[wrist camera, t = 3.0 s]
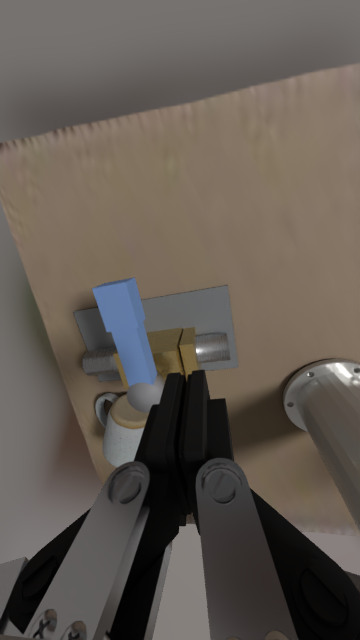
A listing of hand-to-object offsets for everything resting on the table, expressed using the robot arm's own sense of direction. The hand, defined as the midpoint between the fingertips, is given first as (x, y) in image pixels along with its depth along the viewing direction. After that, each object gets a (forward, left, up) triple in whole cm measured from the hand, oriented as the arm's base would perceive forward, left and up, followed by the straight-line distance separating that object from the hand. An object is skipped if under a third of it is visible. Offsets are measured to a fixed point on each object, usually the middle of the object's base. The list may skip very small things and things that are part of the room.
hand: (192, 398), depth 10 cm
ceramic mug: (+15, +18, -20) cm, 31 cm away
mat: (+8, +5, -20) cm, 22 cm away
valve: (+8, +7, -20) cm, 22 cm away
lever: (+7, +2, -11) cm, 13 cm away
